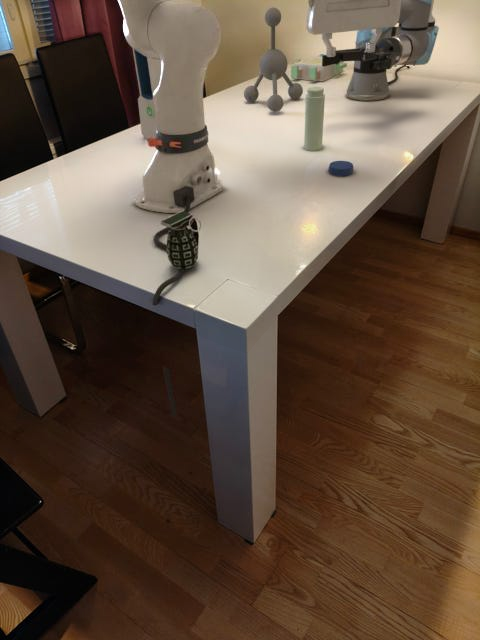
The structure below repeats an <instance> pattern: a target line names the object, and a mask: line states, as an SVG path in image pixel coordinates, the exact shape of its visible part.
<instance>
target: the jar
mask: <svg viewBox="0 0 480 640" xmlns="http://www.w3.org/2000/svg"><path fill="white" fill-rule="evenodd" d="M324 89H325V88H324V87H322V86H312V87H308V88H307V90H306V92H307V93H306V94H305V109H304V115H305V116H304V135H303V136H304V137H303V139H304V140H303V141H304V142H303V149H304V150H306V151H311V152H314V151H320V150H322V148H323V139H324V137H323V136H324V118H325V103H326V101H325V100H326V95H325V93H324Z"/></svg>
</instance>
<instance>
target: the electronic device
mask: <svg viewBox="0 0 480 640" xmlns="http://www.w3.org/2000/svg"><path fill="white" fill-rule="evenodd" d="M132 54H133V60H134V61H133V62H134V65H135V72H136V79H137V86H138V90H139V97H138V98H137V103H138V113H139V123H140V129H141V130H140V131H141V135H142V136H143V138H144V139H146V140H148V139H149V138H150V137H152V138H156V130H157V129H158V128H157V121H156V114H155V108H154V101H153V93H154V91H155V89H156V88H157V86H158V85H159V83H160V78H161V60H157V59H152V58H148V57H146V56H144V55H142V54H140V53H139V52H137V51H136V50H134V49H133V48H132Z"/></svg>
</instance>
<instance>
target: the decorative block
mask: <svg viewBox="0 0 480 640" xmlns="http://www.w3.org/2000/svg"><path fill="white" fill-rule="evenodd" d="M323 55H325V53H320V54H318V55H316V56H310V57H307V58H304V59H296V60H295V62H294V63H293V64H292V65H291V66H290V79H295V80H306V81H315V82H325V81H327V80H329V79H331V78H333V77H336V76H338V75H340V74H341V72H343V71H344V69H345V68H348V63H347V62H345V61H342V62H340V63H338V65H336V64H333V65H329V66H324V67H323V66H322V56H323Z"/></svg>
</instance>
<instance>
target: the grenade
mask: <svg viewBox="0 0 480 640" xmlns="http://www.w3.org/2000/svg"><path fill="white" fill-rule="evenodd" d="M198 222H199V226H198ZM159 224H160V225H162V226H164V227H165V228H166V227H169V228H170V227H171V230H169V231H168V232H167V236H166V245H167V249H165V250H166V254H167V259H168V261H169V263H170V265H171V266H172V267H174V268H176V269H178V270H179V268H181V269H182V268H184V271H186V270H189V269H192V267H194V266H195V265H196V264H197V262H198V261H197V260H198V259H199V243H200V241H199V240H200V233H199V232H200V231H201V228H202V221H201V220H200V219H199V218H198V217H197V216H194V215H193V214H192V213H189V212H188V213H187V212H184V211H181V212H179V213H174V214H172V215H170V216H169V217H166V218H165V219H162V220H160V222H159ZM198 227H199V228H198Z"/></svg>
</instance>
